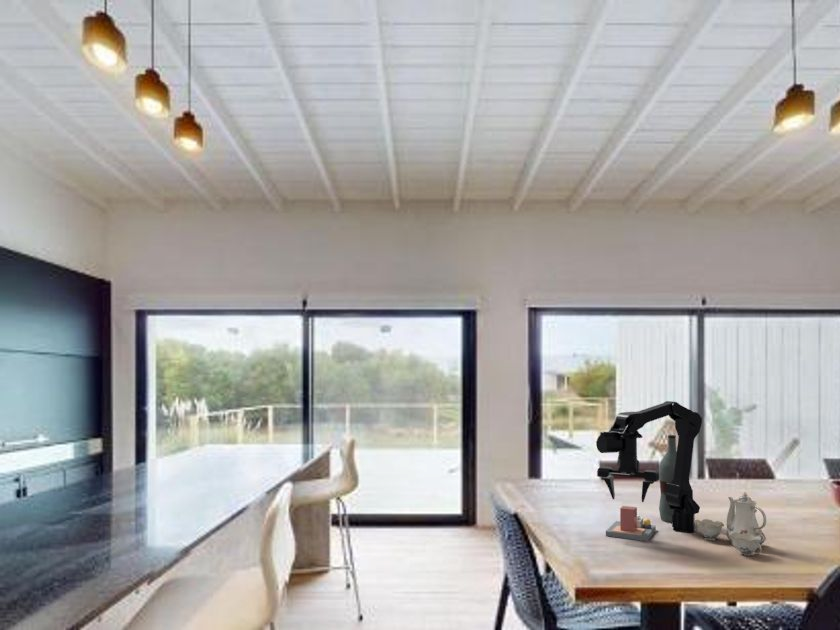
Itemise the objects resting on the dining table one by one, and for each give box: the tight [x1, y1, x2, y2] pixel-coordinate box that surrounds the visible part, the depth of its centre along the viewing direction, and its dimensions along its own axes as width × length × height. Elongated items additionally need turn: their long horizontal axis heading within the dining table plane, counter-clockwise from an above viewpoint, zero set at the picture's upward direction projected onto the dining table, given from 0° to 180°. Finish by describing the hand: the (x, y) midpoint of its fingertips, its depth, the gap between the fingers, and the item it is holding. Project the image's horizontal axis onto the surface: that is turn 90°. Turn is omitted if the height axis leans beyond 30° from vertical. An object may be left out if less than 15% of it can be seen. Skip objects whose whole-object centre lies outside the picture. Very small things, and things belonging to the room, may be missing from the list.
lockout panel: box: [605, 516, 657, 542], centre depth 227 cm, size 13×16×4 cm
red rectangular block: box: [619, 505, 638, 532], centre depth 223 cm, size 4×4×7 cm
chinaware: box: [695, 492, 767, 556], centre depth 212 cm, size 28×17×17 cm, turn 17°
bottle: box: [658, 434, 677, 524], centre depth 246 cm, size 9×9×30 cm
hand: (628, 500), depth 224 cm, fingers open, 9 cm apart
